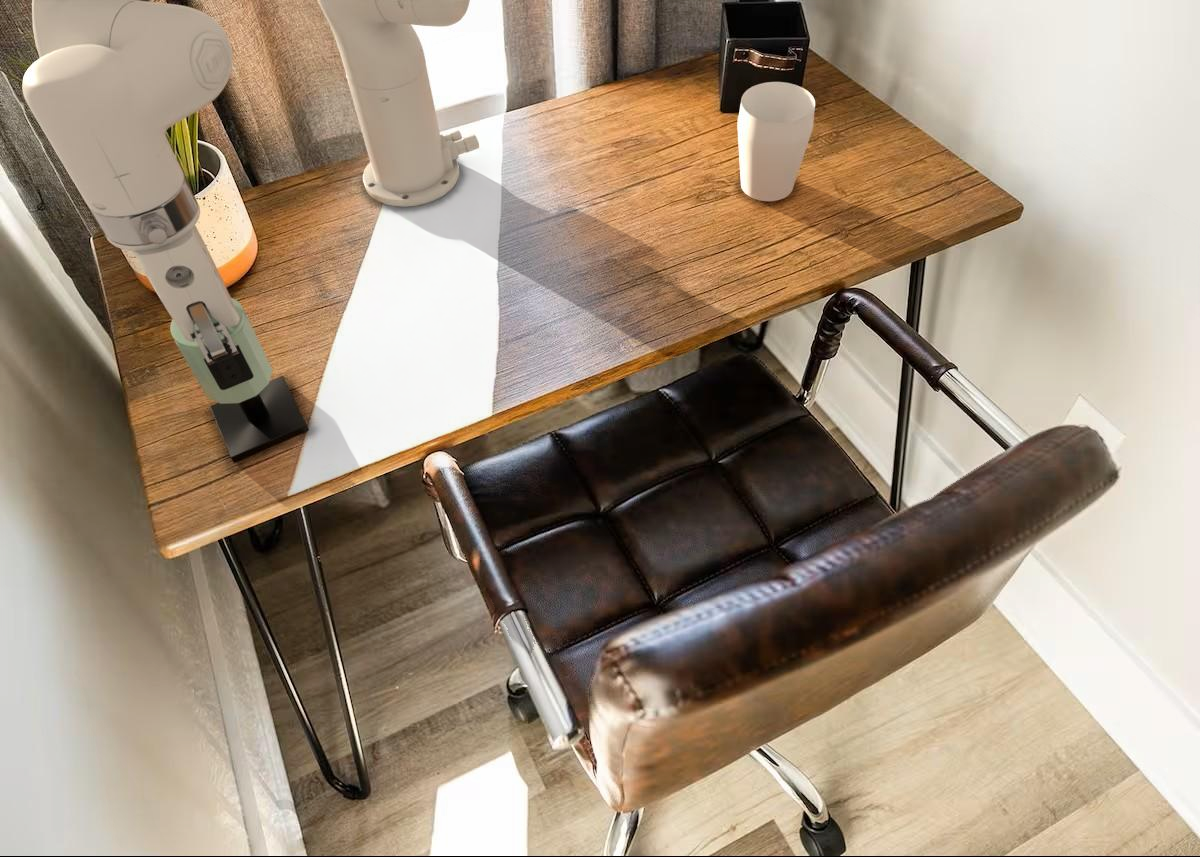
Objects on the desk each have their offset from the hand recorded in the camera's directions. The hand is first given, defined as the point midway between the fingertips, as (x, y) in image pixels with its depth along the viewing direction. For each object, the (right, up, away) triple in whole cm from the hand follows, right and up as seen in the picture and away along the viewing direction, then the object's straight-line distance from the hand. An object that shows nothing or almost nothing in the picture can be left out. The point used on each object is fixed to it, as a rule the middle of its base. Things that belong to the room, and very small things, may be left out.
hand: (225, 356), depth 86 cm
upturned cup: (0, -2, +2) cm, 3 cm away
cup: (+57, +24, +29) cm, 69 cm away
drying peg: (0, -6, +8) cm, 10 cm away
